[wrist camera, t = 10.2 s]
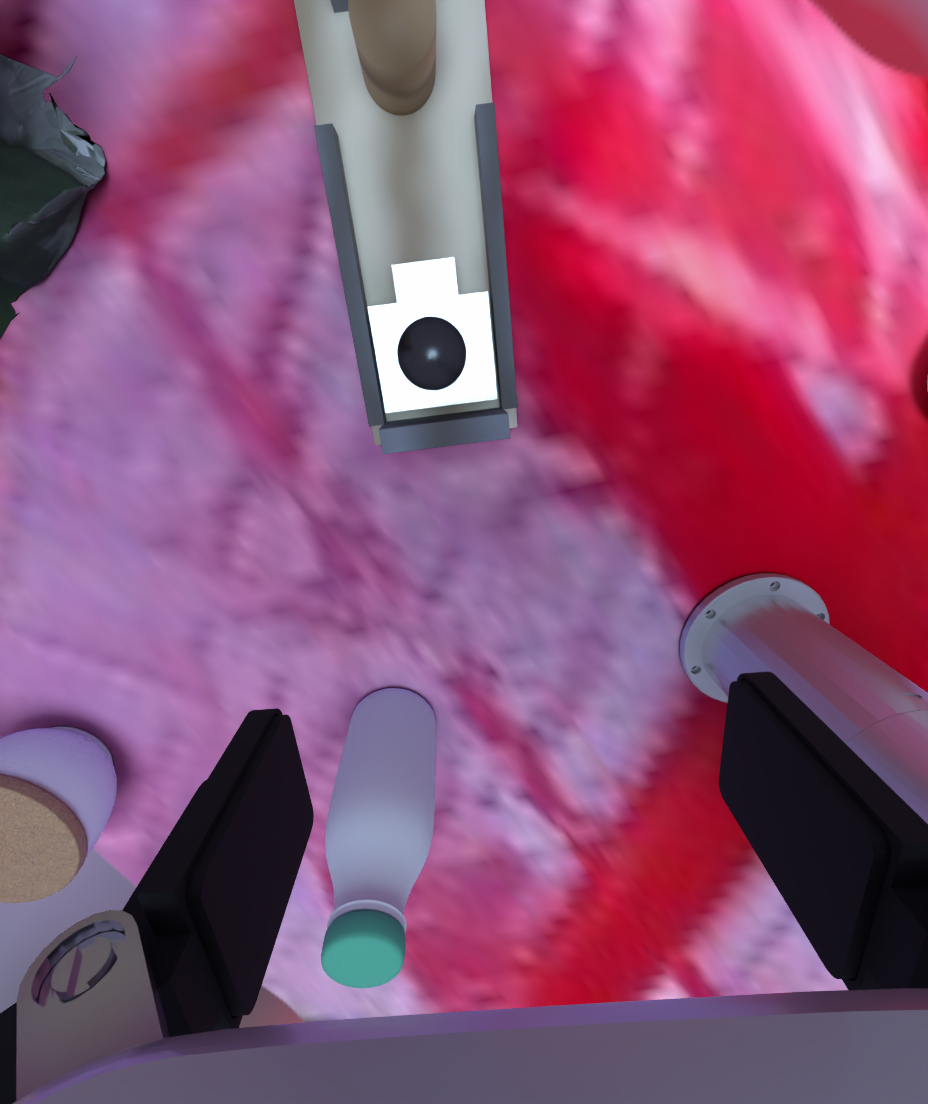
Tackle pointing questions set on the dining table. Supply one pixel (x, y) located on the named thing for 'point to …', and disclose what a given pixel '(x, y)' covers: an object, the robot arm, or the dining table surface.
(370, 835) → the milk bottle
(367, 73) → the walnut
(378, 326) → the ram
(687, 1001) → the robot arm
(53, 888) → the lidded bowl
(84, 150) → the rose bouquet
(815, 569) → the dining table surface
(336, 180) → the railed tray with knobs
